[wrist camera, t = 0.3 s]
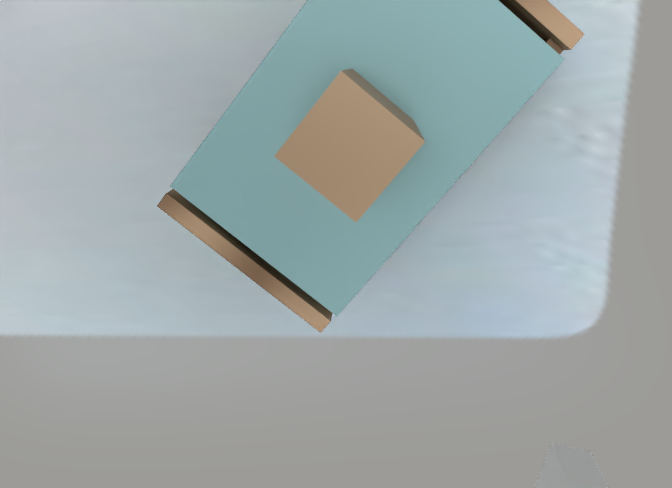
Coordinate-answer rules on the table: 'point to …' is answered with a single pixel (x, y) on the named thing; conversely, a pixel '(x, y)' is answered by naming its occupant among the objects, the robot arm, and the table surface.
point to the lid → (361, 131)
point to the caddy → (523, 3)
